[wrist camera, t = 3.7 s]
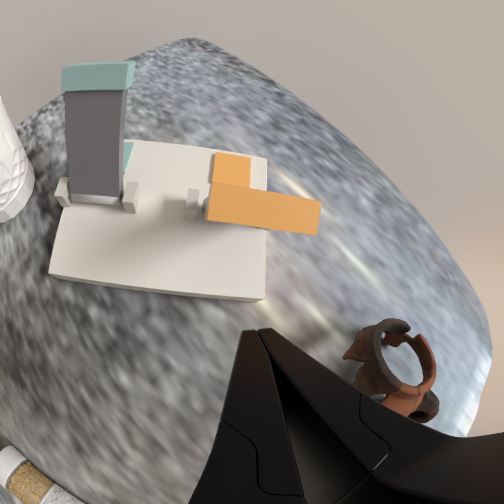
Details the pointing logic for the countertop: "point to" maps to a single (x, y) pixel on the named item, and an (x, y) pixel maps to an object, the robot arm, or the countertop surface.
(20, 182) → the white cup
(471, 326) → the countertop surface
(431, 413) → the pottery mug
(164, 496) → the countertop surface
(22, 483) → the sprinkles bottle
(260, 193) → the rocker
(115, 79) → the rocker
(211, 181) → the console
